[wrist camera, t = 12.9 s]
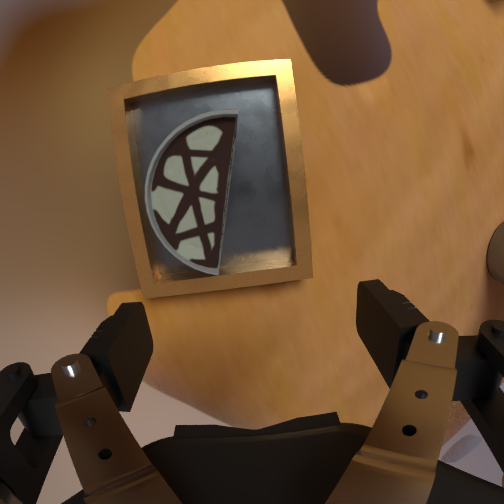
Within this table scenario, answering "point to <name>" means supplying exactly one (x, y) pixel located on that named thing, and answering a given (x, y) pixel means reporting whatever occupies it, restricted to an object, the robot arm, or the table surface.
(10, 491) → the robot arm
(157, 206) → the food container
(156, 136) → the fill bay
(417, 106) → the table surface
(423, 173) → the table surface
